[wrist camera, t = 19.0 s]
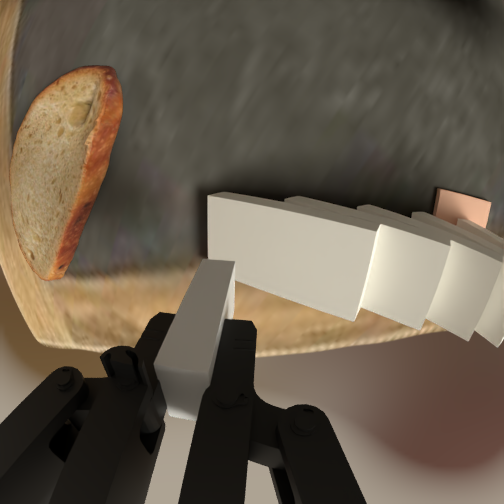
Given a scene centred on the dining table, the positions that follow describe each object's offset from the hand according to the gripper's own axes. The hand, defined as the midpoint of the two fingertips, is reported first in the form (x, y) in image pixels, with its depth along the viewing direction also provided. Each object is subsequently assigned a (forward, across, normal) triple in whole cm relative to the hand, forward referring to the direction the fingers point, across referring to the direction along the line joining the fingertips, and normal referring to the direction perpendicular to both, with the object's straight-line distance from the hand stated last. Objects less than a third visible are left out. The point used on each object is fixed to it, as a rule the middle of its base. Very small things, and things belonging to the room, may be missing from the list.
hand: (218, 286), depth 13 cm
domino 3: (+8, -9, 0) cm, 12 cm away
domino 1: (+8, +2, 0) cm, 8 cm away
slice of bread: (+9, +16, -4) cm, 19 cm away
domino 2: (+8, -4, 0) cm, 9 cm away
